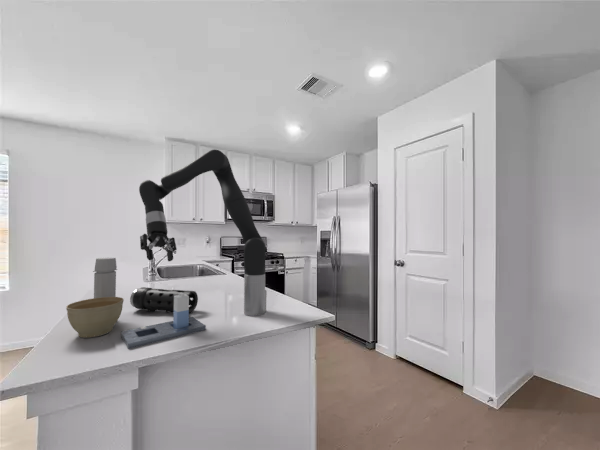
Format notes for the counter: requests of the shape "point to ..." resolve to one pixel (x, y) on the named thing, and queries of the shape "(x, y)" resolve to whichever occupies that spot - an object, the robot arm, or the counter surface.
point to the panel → (159, 333)
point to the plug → (181, 311)
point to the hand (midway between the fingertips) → (161, 260)
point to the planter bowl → (94, 315)
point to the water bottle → (105, 277)
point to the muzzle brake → (160, 299)
